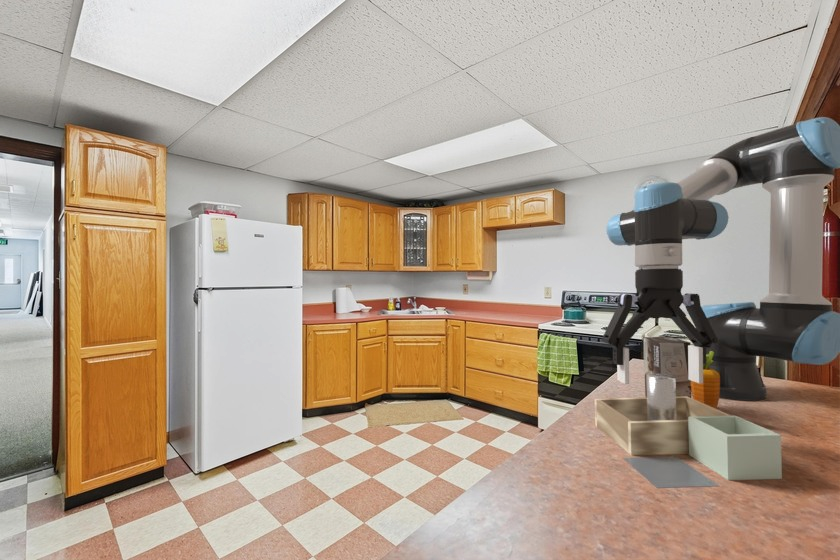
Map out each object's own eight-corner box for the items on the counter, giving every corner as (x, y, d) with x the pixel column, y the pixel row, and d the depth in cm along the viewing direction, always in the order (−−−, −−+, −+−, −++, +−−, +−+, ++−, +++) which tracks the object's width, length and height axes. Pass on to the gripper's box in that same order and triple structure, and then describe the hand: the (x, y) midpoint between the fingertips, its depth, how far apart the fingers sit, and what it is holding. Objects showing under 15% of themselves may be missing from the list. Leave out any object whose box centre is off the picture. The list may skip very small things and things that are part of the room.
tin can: (666, 435, 73) (664, 373, 73) (683, 445, 68) (681, 379, 68) (642, 435, 73) (641, 373, 73) (657, 446, 68) (656, 380, 68)
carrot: (689, 423, 78) (687, 351, 78) (693, 417, 82) (691, 347, 82) (719, 429, 75) (718, 354, 75) (722, 422, 79) (720, 350, 78)
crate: (687, 425, 77) (687, 396, 77) (742, 455, 64) (741, 420, 64) (595, 428, 77) (594, 398, 77) (631, 458, 64) (630, 423, 64)
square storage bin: (736, 456, 64) (735, 415, 64) (781, 482, 56) (780, 435, 56) (689, 458, 64) (688, 416, 64) (728, 483, 56) (727, 436, 56)
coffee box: (693, 416, 82) (691, 342, 82) (661, 415, 83) (659, 342, 83) (673, 402, 91) (671, 336, 91) (644, 401, 92) (642, 335, 92)
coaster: (676, 460, 63) (676, 456, 63) (719, 490, 54) (719, 485, 54) (622, 461, 63) (622, 458, 63) (657, 491, 54) (657, 487, 54)
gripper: (601, 267, 67) (602, 388, 67) (741, 266, 67) (743, 386, 67) (582, 269, 74) (584, 377, 74) (708, 268, 75) (710, 376, 74)
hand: (659, 382), depth 71 cm, fingers open, 13 cm apart
